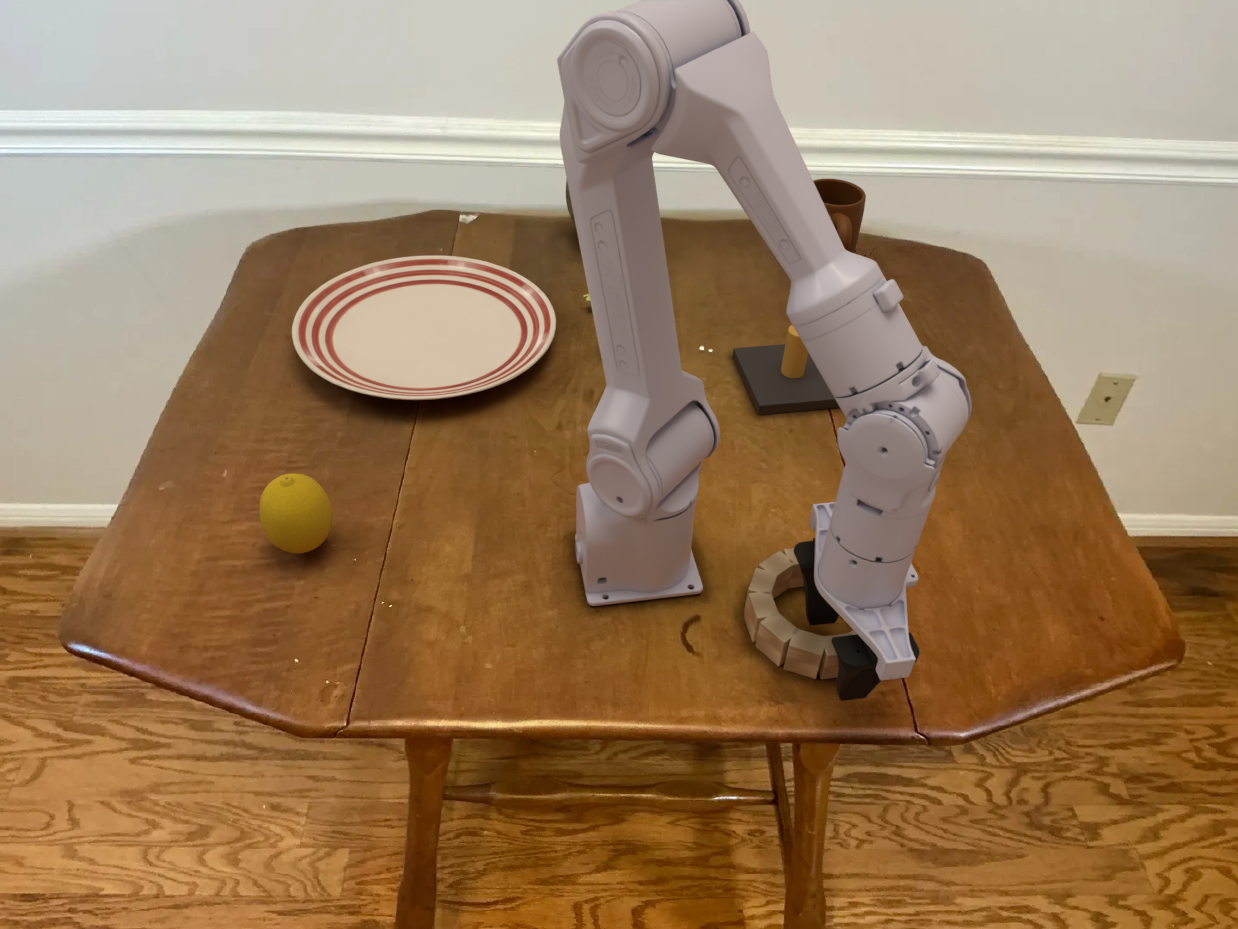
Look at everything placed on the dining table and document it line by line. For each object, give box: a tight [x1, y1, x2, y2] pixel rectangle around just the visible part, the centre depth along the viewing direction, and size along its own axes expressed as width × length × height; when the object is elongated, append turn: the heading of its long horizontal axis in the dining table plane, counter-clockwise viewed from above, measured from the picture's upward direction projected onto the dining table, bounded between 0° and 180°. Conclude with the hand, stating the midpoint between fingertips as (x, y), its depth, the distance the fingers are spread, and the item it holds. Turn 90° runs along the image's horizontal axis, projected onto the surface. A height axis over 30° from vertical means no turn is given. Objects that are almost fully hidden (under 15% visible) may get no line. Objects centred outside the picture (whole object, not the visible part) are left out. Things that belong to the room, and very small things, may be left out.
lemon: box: [258, 472, 333, 554], centre depth 77 cm, size 6×6×8 cm
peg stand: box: [731, 324, 841, 416], centre depth 97 cm, size 10×10×6 cm
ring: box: [743, 547, 857, 680], centre depth 74 cm, size 11×11×3 cm
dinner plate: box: [291, 255, 557, 401], centre depth 101 cm, size 28×27×3 cm
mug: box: [813, 178, 867, 254], centre depth 113 cm, size 12×8×9 cm, turn 1°
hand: (835, 657), depth 71 cm, fingers open, 6 cm apart
